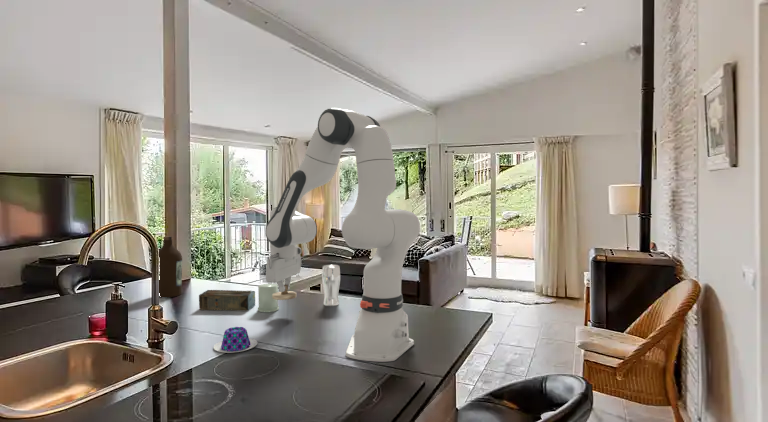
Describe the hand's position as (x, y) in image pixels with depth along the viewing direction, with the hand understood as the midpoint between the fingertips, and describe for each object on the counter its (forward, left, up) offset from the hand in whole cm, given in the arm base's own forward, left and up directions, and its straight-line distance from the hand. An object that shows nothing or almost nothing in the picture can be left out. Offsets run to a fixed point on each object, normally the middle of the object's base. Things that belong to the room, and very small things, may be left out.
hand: (284, 290), depth 157 cm
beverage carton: (+4, +26, -10) cm, 28 cm away
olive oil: (+16, +62, -9) cm, 64 cm away
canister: (+6, +10, -9) cm, 14 cm away
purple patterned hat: (-31, -1, -10) cm, 33 cm away
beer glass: (+19, -10, -9) cm, 23 cm away
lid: (0, 0, -2) cm, 2 cm away
